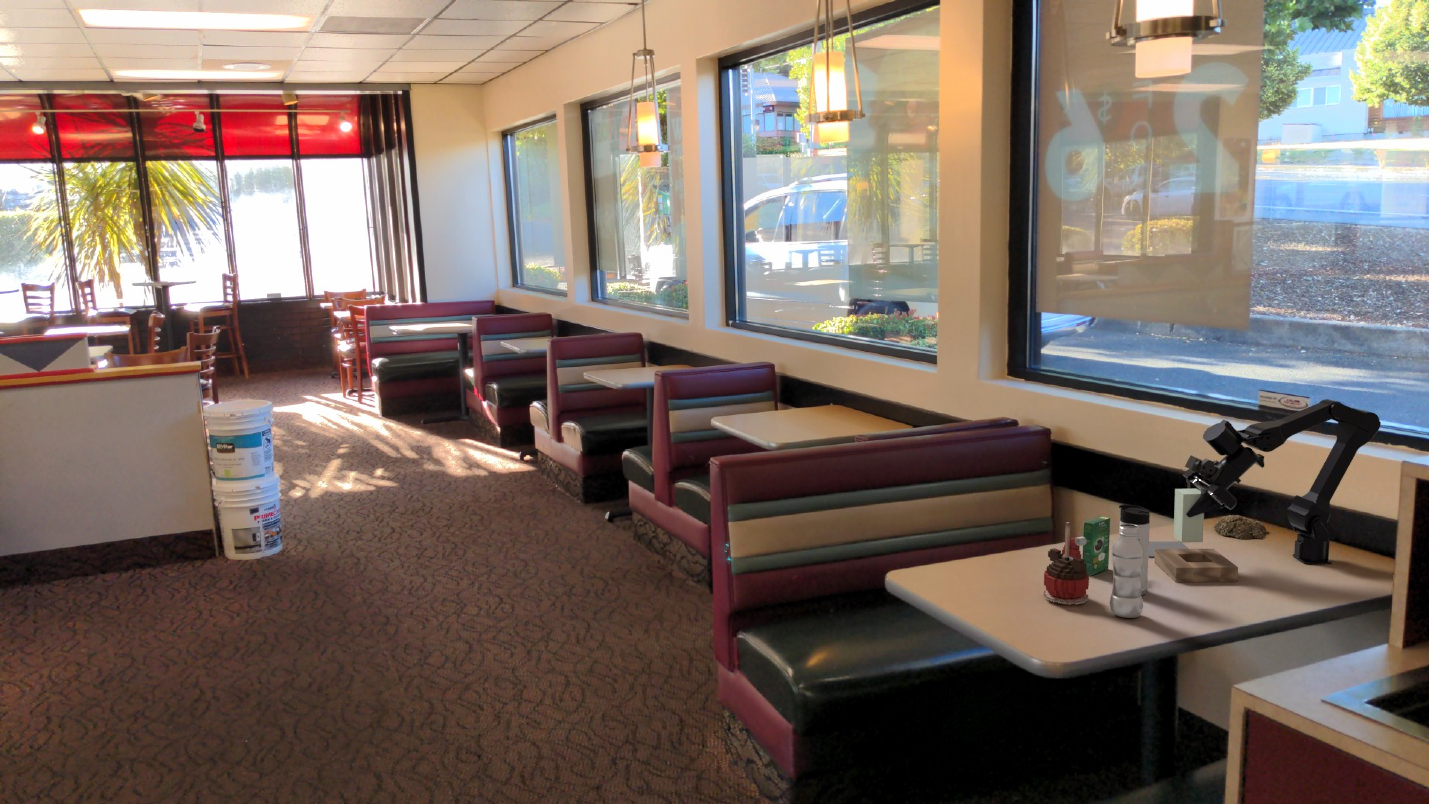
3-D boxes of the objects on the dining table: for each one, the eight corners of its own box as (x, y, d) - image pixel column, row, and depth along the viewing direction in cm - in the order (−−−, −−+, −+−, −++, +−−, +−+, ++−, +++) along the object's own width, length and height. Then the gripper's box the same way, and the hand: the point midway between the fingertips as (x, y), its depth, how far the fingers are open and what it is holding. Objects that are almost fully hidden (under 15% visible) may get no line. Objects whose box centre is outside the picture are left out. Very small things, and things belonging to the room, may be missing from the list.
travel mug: (1123, 584, 240) (1126, 501, 237) (1151, 591, 236) (1155, 506, 232) (1111, 591, 236) (1114, 507, 233) (1139, 598, 231) (1143, 512, 228)
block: (1194, 535, 253) (1196, 488, 251) (1202, 542, 248) (1204, 493, 246) (1173, 536, 253) (1175, 489, 251) (1181, 542, 248) (1183, 494, 246)
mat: (1179, 542, 269) (1179, 541, 269) (1198, 557, 258) (1198, 555, 258) (1132, 543, 270) (1132, 541, 270) (1148, 557, 258) (1148, 556, 258)
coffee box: (1098, 566, 253) (1100, 514, 251) (1109, 569, 251) (1111, 516, 249) (1080, 573, 248) (1082, 521, 246) (1091, 576, 246) (1093, 523, 244)
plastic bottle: (1145, 622, 218) (1149, 531, 214) (1111, 620, 219) (1114, 530, 216) (1139, 611, 224) (1143, 522, 221) (1106, 609, 225) (1109, 521, 222)
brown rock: (1218, 524, 285) (1219, 507, 284) (1268, 531, 278) (1269, 513, 277) (1209, 536, 275) (1210, 518, 274) (1260, 543, 268) (1262, 525, 267)
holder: (1212, 562, 254) (1213, 548, 253) (1237, 581, 240) (1238, 567, 239) (1154, 562, 255) (1154, 549, 254) (1175, 582, 241) (1176, 567, 240)
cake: (1033, 595, 235) (1034, 519, 232) (1065, 589, 239) (1067, 514, 236) (1066, 611, 225) (1068, 531, 222) (1099, 603, 229) (1101, 525, 226)
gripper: (1192, 436, 256) (1145, 481, 258) (1225, 453, 237) (1174, 501, 240) (1223, 467, 256) (1176, 511, 259) (1259, 485, 238) (1208, 532, 241)
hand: (1183, 513), depth 249 cm, fingers closed on block, 5 cm apart
